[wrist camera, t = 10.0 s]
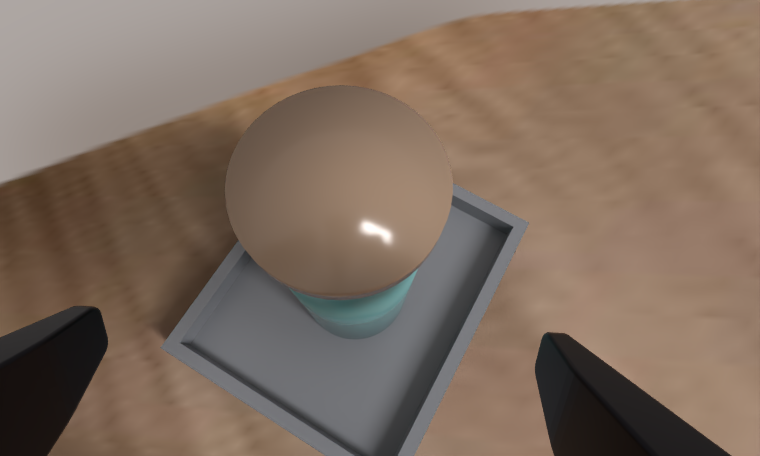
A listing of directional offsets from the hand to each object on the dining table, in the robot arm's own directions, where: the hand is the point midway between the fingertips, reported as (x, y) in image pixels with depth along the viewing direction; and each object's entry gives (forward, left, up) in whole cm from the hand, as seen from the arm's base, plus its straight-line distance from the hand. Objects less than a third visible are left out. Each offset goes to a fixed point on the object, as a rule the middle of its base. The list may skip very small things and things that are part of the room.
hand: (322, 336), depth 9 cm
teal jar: (+3, +2, -13) cm, 13 cm away
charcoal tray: (+3, +2, -13) cm, 14 cm away
